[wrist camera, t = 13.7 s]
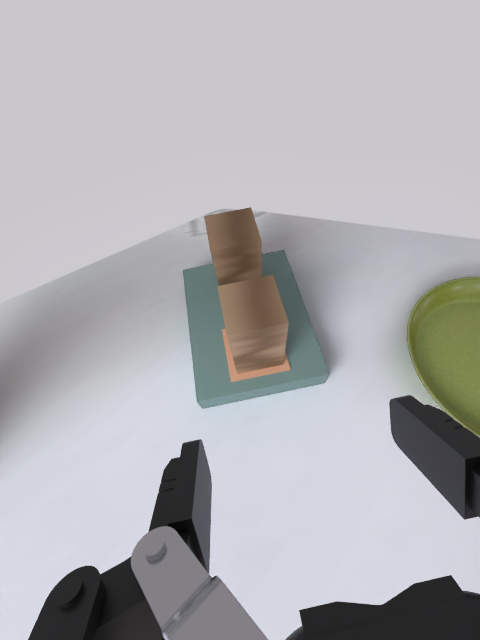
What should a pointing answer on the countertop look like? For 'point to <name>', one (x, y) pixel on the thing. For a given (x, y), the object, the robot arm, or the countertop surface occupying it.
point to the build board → (214, 351)
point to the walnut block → (254, 323)
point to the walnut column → (234, 246)
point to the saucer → (449, 348)
